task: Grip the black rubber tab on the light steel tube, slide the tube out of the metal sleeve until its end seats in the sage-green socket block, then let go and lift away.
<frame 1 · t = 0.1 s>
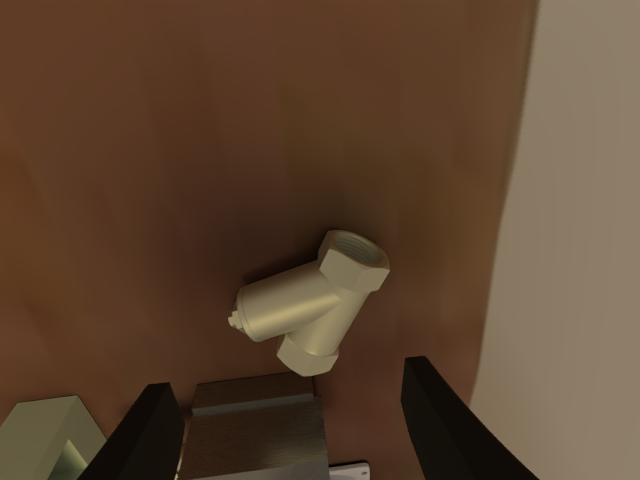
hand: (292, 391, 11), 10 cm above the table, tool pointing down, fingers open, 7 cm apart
sleeve: (260, 399, 26), on the table
socket block: (66, 425, 26), on the table
pipe fitting: (300, 274, 22), on the table
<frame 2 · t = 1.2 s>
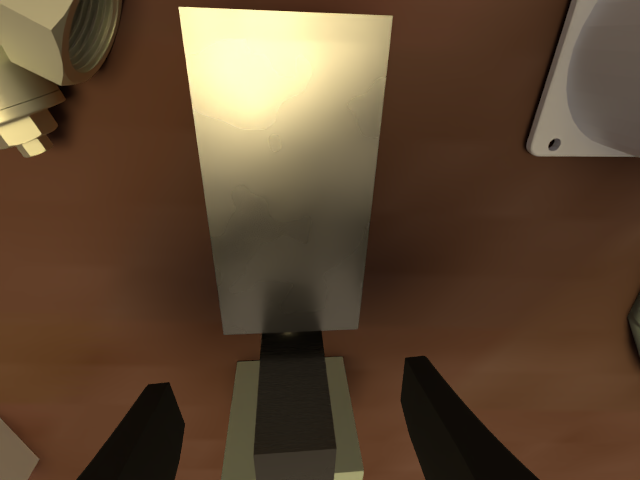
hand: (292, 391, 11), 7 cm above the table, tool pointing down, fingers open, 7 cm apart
sleeve: (287, 151, 15), on the table
socket block: (291, 382, 21), on the table
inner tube: (291, 308, 11), point 6 cm above the table, slide at 0.0 cm
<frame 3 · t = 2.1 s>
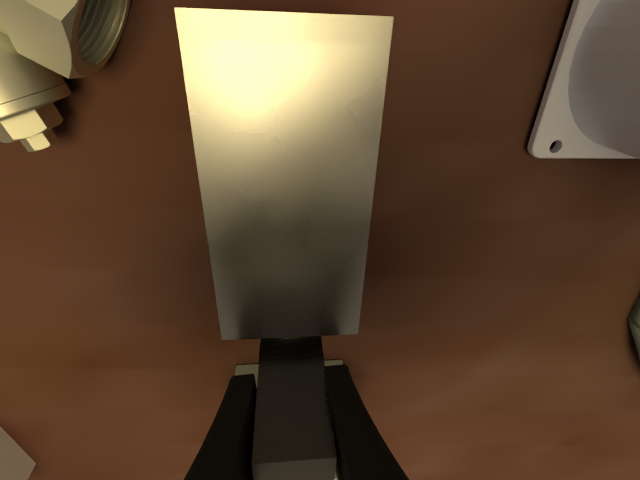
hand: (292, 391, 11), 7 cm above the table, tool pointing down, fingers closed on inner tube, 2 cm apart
sleeve: (286, 153, 14), on the table
socket block: (290, 386, 21), on the table
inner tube: (290, 313, 11), point 6 cm above the table, slide at 0.0 cm, touching gripper
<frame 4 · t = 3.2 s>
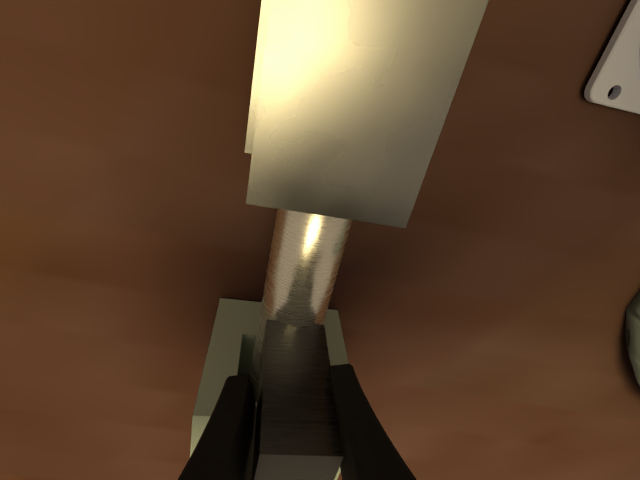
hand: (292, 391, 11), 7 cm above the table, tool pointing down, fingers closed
sleeve: (334, 39, 13), on the table
socket block: (274, 333, 19), on the table
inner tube: (306, 308, 10), point 6 cm above the table, slide at 4.0 cm, touching gripper
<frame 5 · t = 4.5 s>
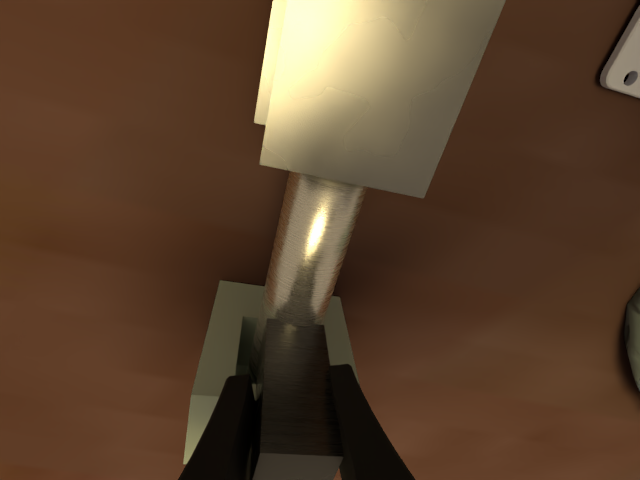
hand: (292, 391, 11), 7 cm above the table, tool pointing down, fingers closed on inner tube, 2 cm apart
sleeve: (349, 9, 12), on the table
socket block: (274, 319, 19), on the table
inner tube: (308, 307, 10), point 6 cm above the table, slide at 4.9 cm, touching gripper
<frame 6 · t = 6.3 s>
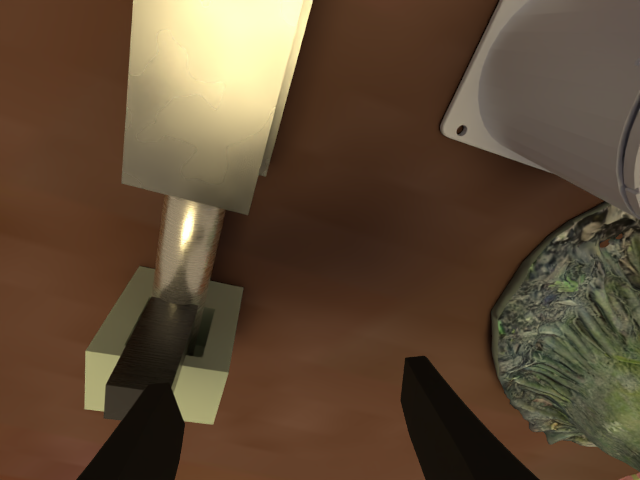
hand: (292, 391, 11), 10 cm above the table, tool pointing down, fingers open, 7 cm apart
sleeve: (234, 62, 16), on the table
socket block: (188, 302, 22), on the table
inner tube: (172, 289, 14), point 6 cm above the table, slide at 4.9 cm
tree stump: (613, 318, 26), on the table
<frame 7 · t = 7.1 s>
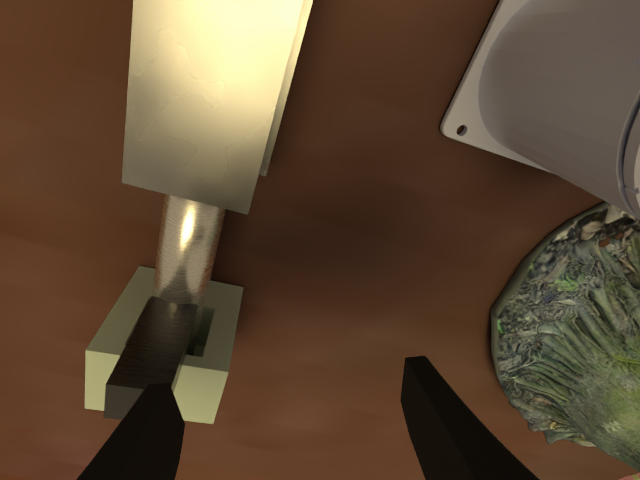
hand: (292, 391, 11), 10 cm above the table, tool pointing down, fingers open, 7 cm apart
sleeve: (234, 62, 16), on the table
socket block: (188, 302, 22), on the table
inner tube: (172, 288, 14), point 6 cm above the table, slide at 4.9 cm
tree stump: (612, 318, 26), on the table
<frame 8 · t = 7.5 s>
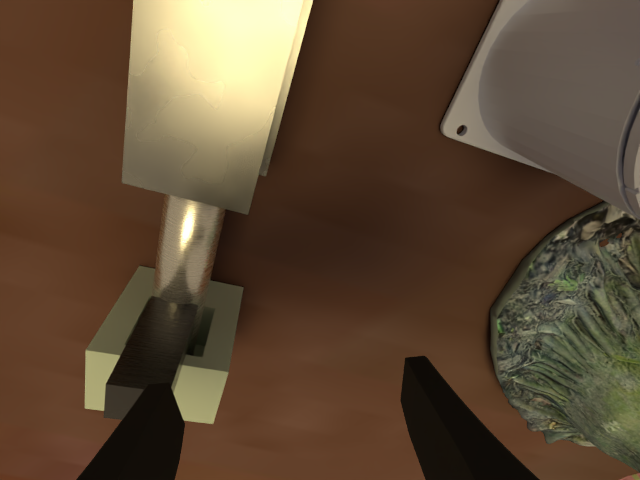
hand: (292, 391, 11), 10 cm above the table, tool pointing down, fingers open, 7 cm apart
sleeve: (234, 62, 16), on the table
socket block: (188, 302, 22), on the table
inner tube: (172, 288, 14), point 6 cm above the table, slide at 4.9 cm
tree stump: (612, 318, 26), on the table
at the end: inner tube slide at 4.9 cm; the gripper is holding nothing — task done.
